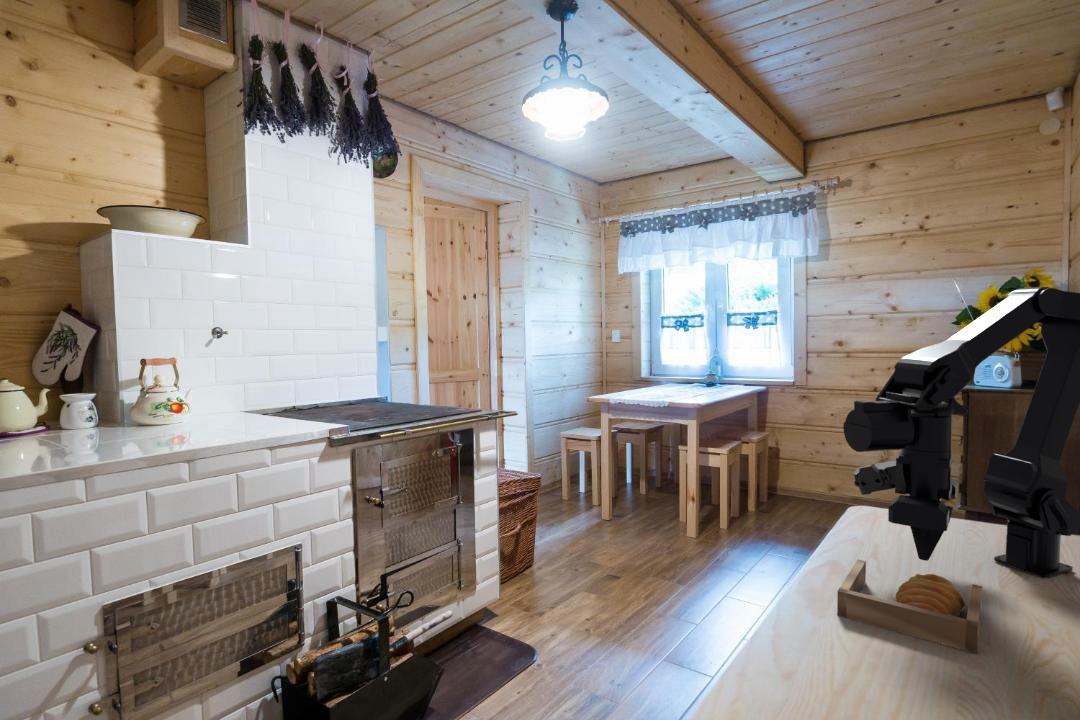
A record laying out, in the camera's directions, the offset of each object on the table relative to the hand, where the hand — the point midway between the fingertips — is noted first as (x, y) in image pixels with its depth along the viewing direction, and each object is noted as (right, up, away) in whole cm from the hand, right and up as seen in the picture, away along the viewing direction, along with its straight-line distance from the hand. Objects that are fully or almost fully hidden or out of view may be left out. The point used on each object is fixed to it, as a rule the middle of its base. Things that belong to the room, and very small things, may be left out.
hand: (923, 559), depth 80 cm
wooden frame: (-8, -3, -9) cm, 13 cm away
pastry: (-6, -4, -10) cm, 12 cm away
